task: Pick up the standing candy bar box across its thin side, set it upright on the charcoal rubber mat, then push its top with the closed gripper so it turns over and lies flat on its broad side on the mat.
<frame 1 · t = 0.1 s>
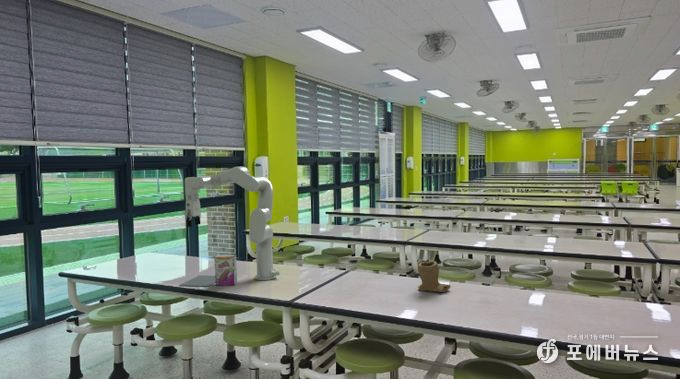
hand: (193, 225, 273), 31 cm above the table, tool pointing down, fingers open, 9 cm apart
charcoal mat: (203, 281, 262), on the table
tan boot: (432, 291, 229), on the table
candy bar box: (226, 284, 254), on the table
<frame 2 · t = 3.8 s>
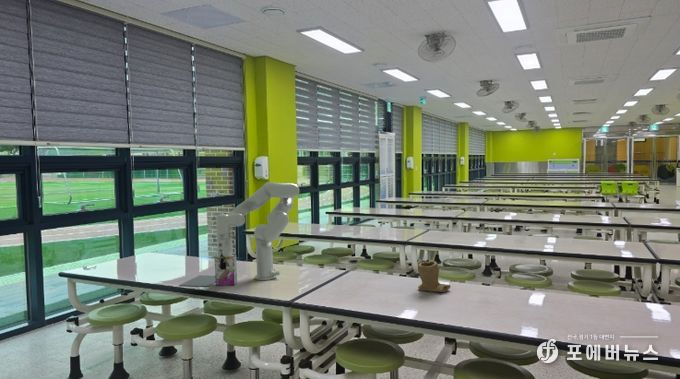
hand: (225, 267, 253), 9 cm above the table, tool pointing down, fingers closed on candy bar box, 5 cm apart
candy bar box: (226, 284, 254), on the table, touching gripper
everything else where it was.
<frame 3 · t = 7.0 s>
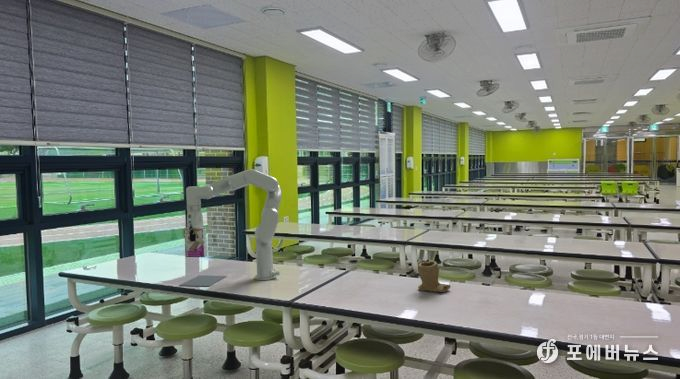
hand: (195, 240, 254), 26 cm above the table, tool pointing down, fingers closed on candy bar box, 5 cm apart
candy bar box: (196, 256, 254), point 16 cm above the table, touching gripper
everything else where it was.
when the fingers open (11 cm above the table, at t = 10.1 s): candy bar box drops 1 cm, resting on charcoal mat.
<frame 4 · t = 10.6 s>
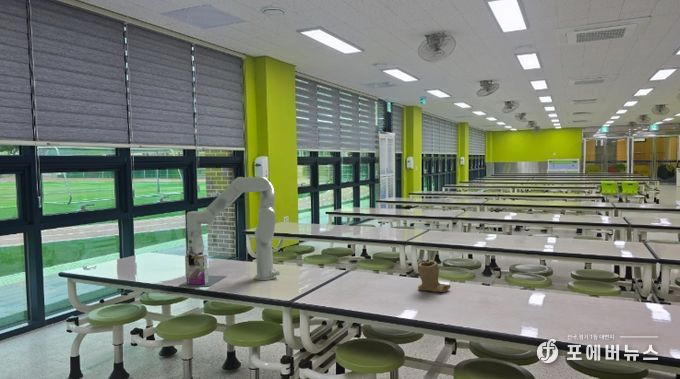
hand: (196, 263, 255), 12 cm above the table, tool pointing down, fingers open, 9 cm apart
candy bar box: (197, 284, 255), resting on charcoal mat
everything else where it was.
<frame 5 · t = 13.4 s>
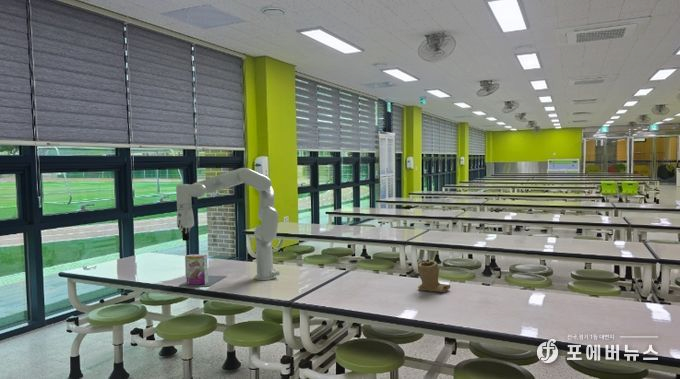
hand: (186, 240, 245), 27 cm above the table, tool pointing down, fingers closed
nothing on the table moved.
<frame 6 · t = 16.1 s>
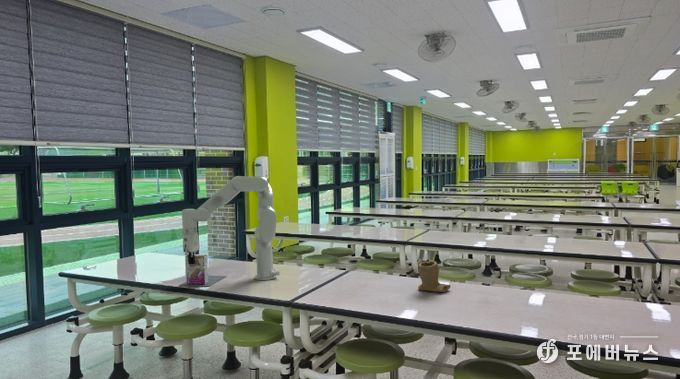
hand: (191, 263, 250), 13 cm above the table, tool pointing down, fingers closed
candy bar box: (197, 283, 255), resting on charcoal mat, touching gripper
everything else where it was.
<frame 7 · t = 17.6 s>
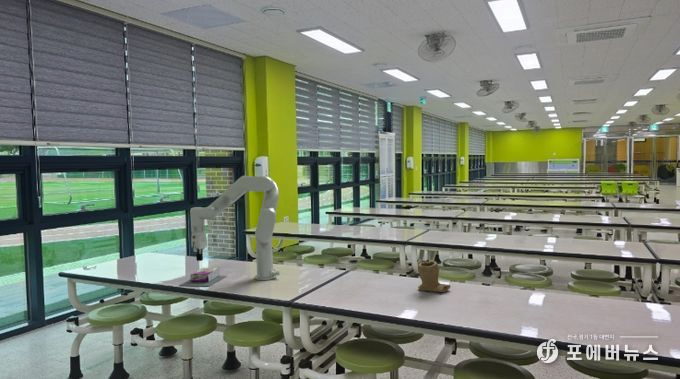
hand: (199, 260, 259), 13 cm above the table, tool pointing down, fingers closed
candy bar box: (199, 278, 258), point 3 cm above the table, touching charcoal mat
everything else where it was.
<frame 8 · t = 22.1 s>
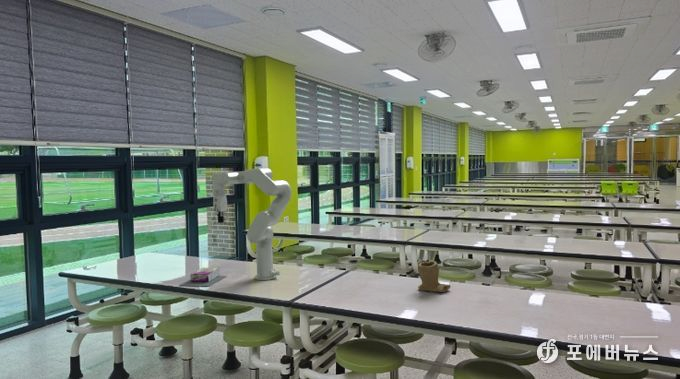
hand: (220, 222, 276), 32 cm above the table, tool pointing down, fingers closed
nothing on the table moved.
at the end: candy bar box tilted 91°; candy bar box inside the target area (1.6 cm from its centre), point 3.0 cm above the table; candy bar box touching charcoal mat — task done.
